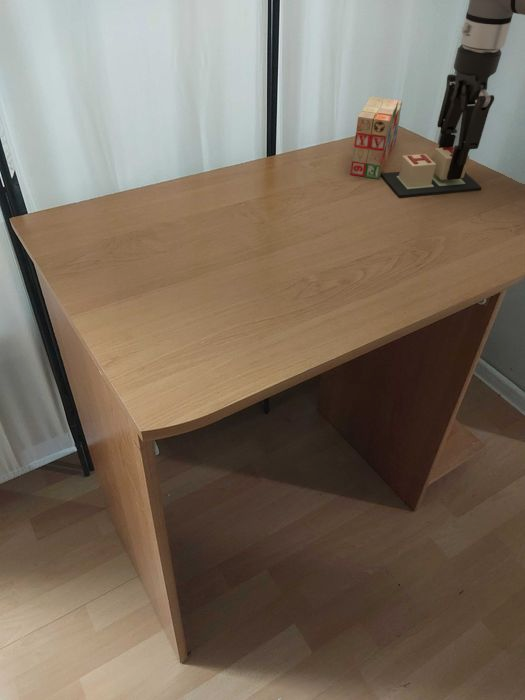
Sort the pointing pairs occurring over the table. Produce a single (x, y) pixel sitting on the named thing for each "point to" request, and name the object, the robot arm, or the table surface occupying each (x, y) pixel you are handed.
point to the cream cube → (417, 170)
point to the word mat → (435, 187)
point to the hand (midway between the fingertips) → (447, 172)
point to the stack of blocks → (375, 136)
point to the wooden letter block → (445, 162)
